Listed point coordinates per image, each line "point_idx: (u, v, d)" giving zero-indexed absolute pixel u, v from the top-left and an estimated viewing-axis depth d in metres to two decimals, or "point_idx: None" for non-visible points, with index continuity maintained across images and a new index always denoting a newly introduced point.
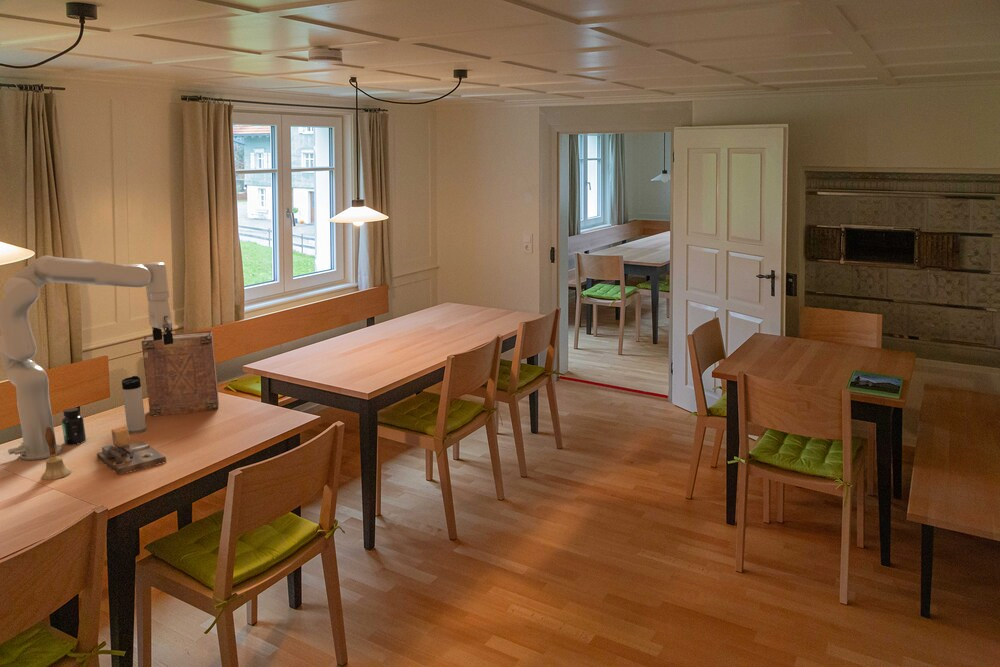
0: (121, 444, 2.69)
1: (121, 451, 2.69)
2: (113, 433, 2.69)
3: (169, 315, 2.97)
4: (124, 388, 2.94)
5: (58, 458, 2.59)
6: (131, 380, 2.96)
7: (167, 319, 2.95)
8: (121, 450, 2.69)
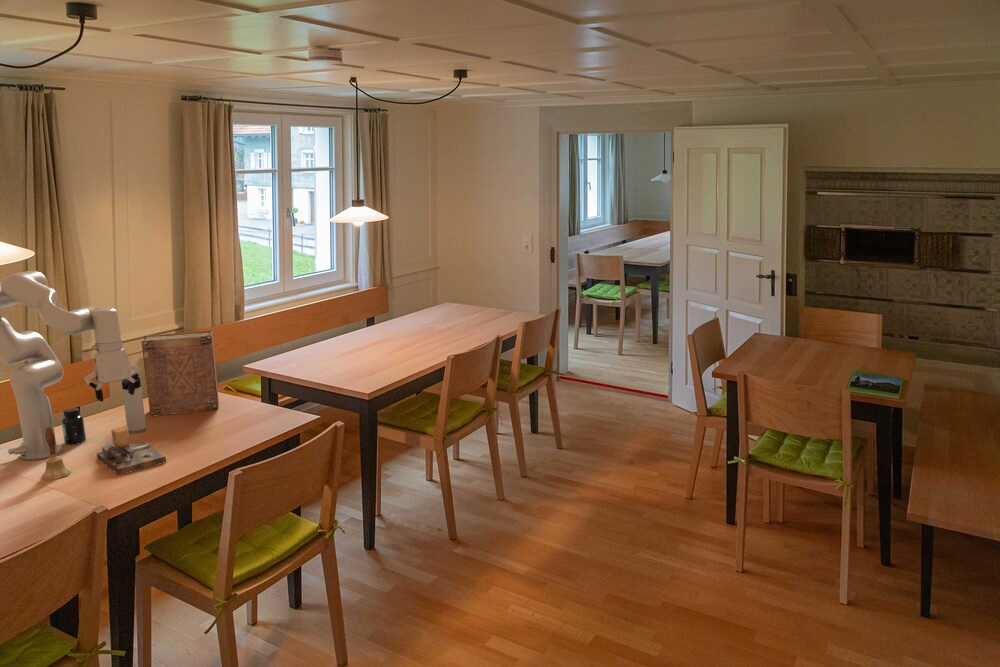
0: (121, 444, 2.69)
1: (121, 451, 2.69)
2: (113, 433, 2.69)
3: None
4: (124, 388, 2.94)
5: (58, 458, 2.59)
6: None
7: (132, 365, 2.70)
8: (121, 450, 2.69)
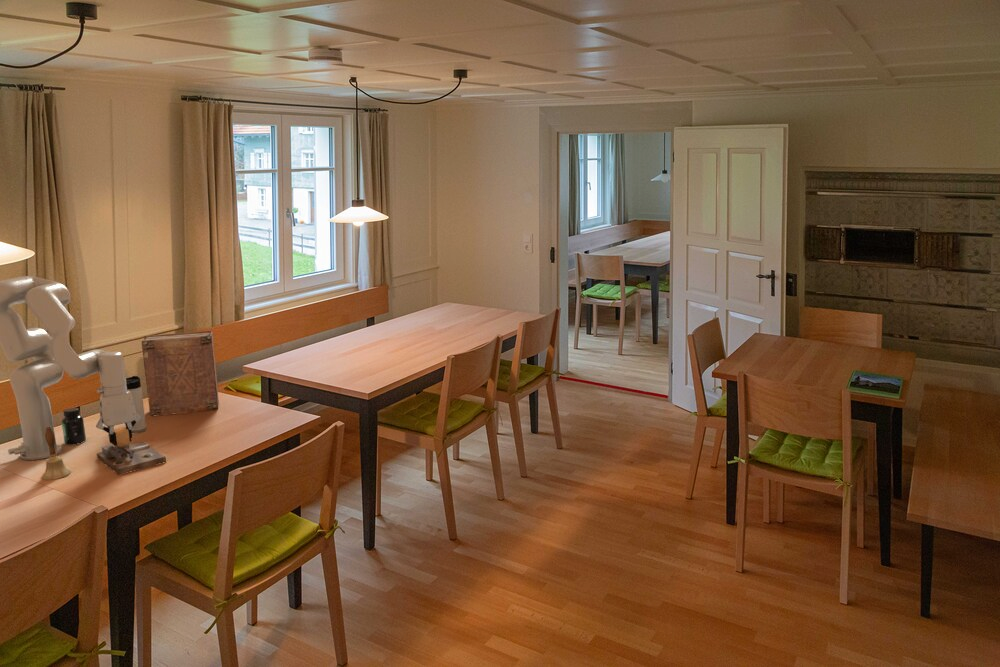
0: (121, 444, 2.69)
1: (121, 451, 2.69)
2: None
3: None
4: None
5: (58, 458, 2.59)
6: (131, 380, 2.96)
7: (135, 411, 2.73)
8: (121, 450, 2.69)
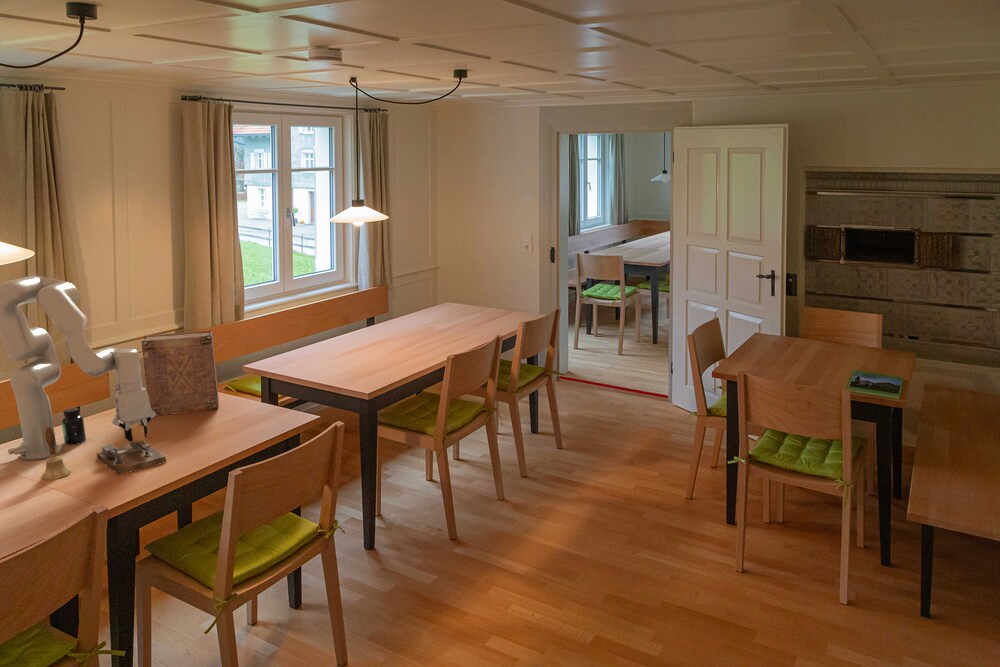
0: (136, 440, 2.73)
1: (136, 447, 2.72)
2: None
3: None
4: None
5: (58, 458, 2.59)
6: None
7: (150, 408, 2.76)
8: (136, 446, 2.72)
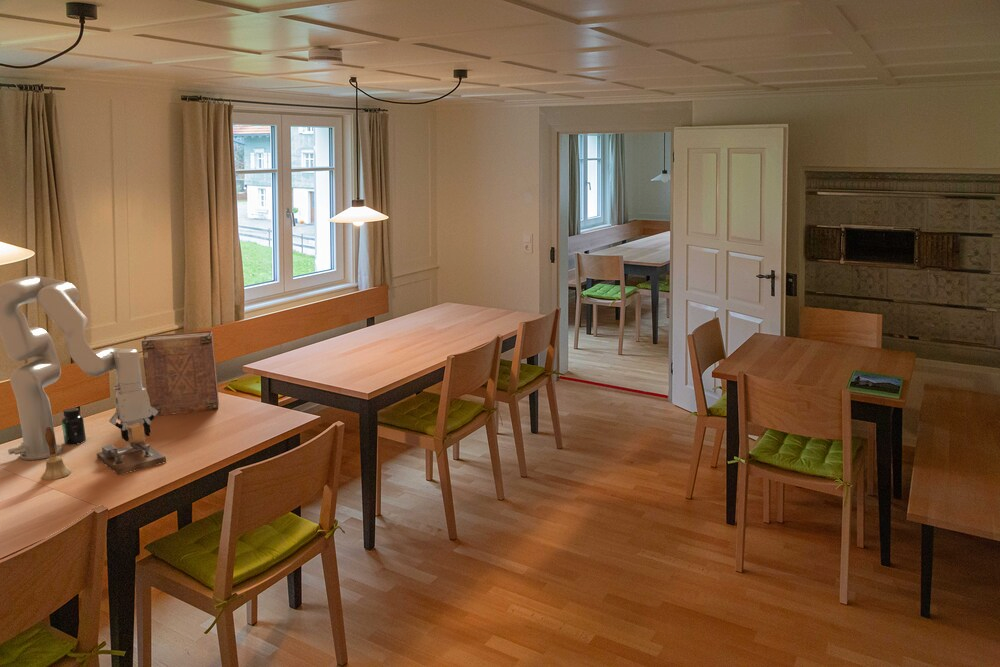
0: (136, 440, 2.73)
1: (136, 447, 2.72)
2: (129, 429, 2.73)
3: None
4: None
5: (58, 458, 2.59)
6: None
7: None
8: (136, 446, 2.72)
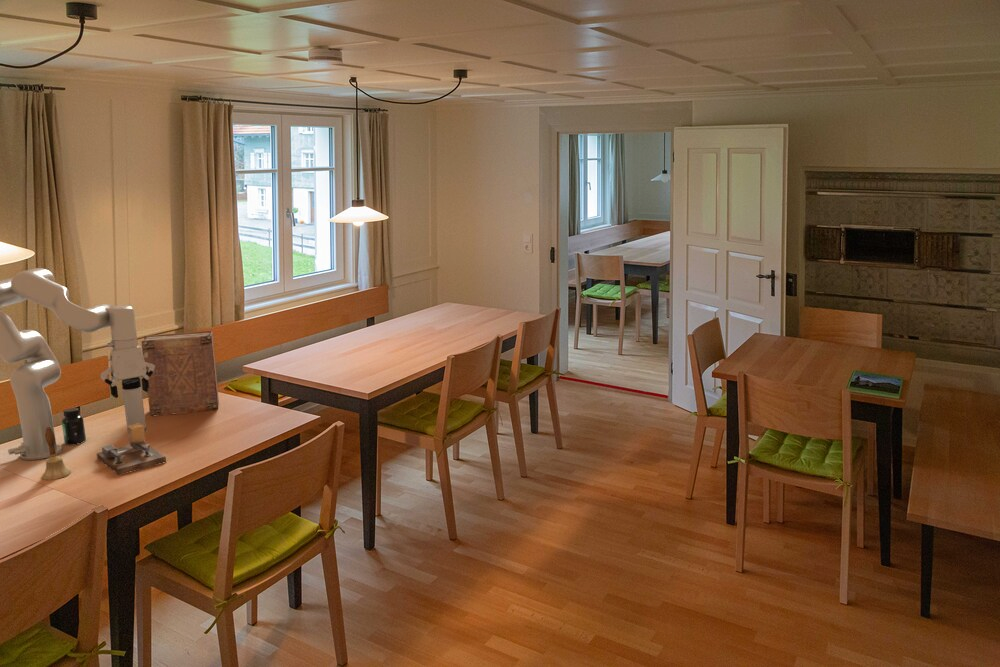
0: (136, 440, 2.73)
1: (136, 447, 2.72)
2: (129, 429, 2.73)
3: None
4: (124, 388, 2.94)
5: (58, 458, 2.59)
6: (131, 380, 2.96)
7: None
8: (136, 446, 2.72)
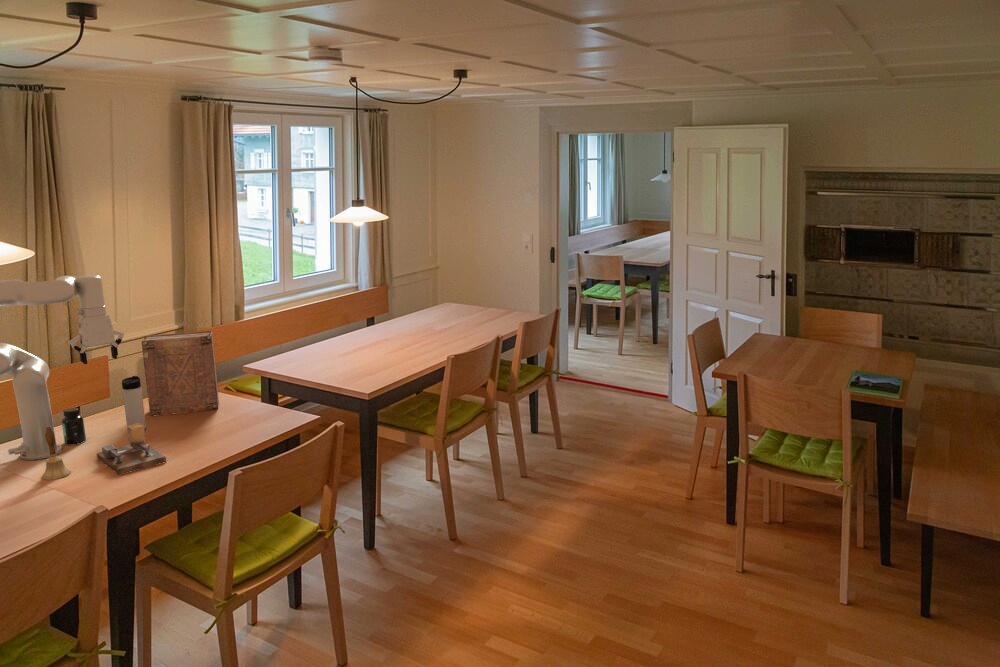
0: (136, 440, 2.73)
1: (136, 447, 2.72)
2: (129, 429, 2.73)
3: None
4: (124, 388, 2.94)
5: (58, 458, 2.59)
6: (131, 380, 2.96)
7: (116, 331, 2.82)
8: (136, 446, 2.72)
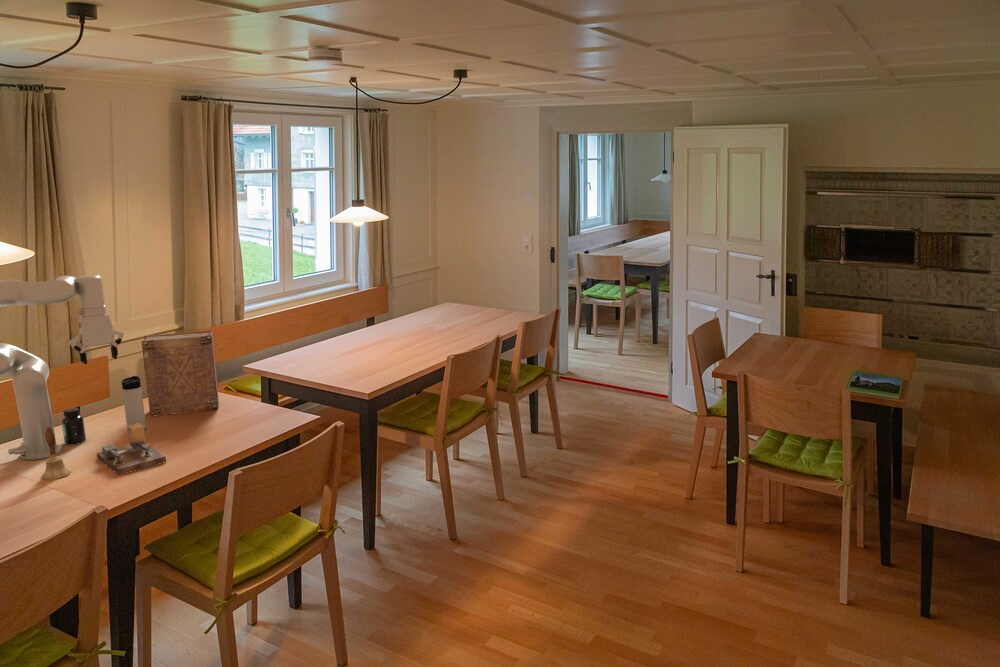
0: (136, 440, 2.73)
1: (136, 447, 2.72)
2: (129, 429, 2.73)
3: None
4: (124, 388, 2.94)
5: (58, 458, 2.59)
6: (131, 380, 2.96)
7: None
8: (136, 446, 2.72)
